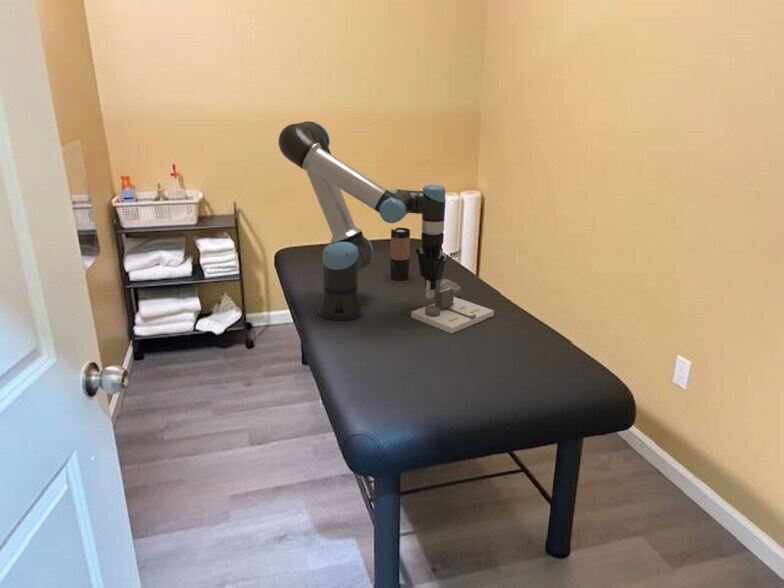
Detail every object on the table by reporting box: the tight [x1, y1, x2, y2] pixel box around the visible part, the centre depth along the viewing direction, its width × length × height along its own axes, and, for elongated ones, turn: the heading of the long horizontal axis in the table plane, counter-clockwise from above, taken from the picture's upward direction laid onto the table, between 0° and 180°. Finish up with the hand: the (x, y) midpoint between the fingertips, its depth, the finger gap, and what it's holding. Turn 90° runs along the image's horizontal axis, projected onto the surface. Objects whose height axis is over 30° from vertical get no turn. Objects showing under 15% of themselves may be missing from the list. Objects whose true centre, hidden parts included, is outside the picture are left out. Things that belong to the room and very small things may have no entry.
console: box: [410, 297, 495, 334], centre depth 194 cm, size 22×18×4 cm
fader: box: [434, 287, 454, 310], centre depth 195 cm, size 6×3×6 cm, turn 134°
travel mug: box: [389, 227, 411, 282], centre depth 229 cm, size 8×8×20 cm
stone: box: [439, 278, 462, 298], centre depth 212 cm, size 8×10×6 cm
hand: (429, 297), depth 201 cm, fingers closed
